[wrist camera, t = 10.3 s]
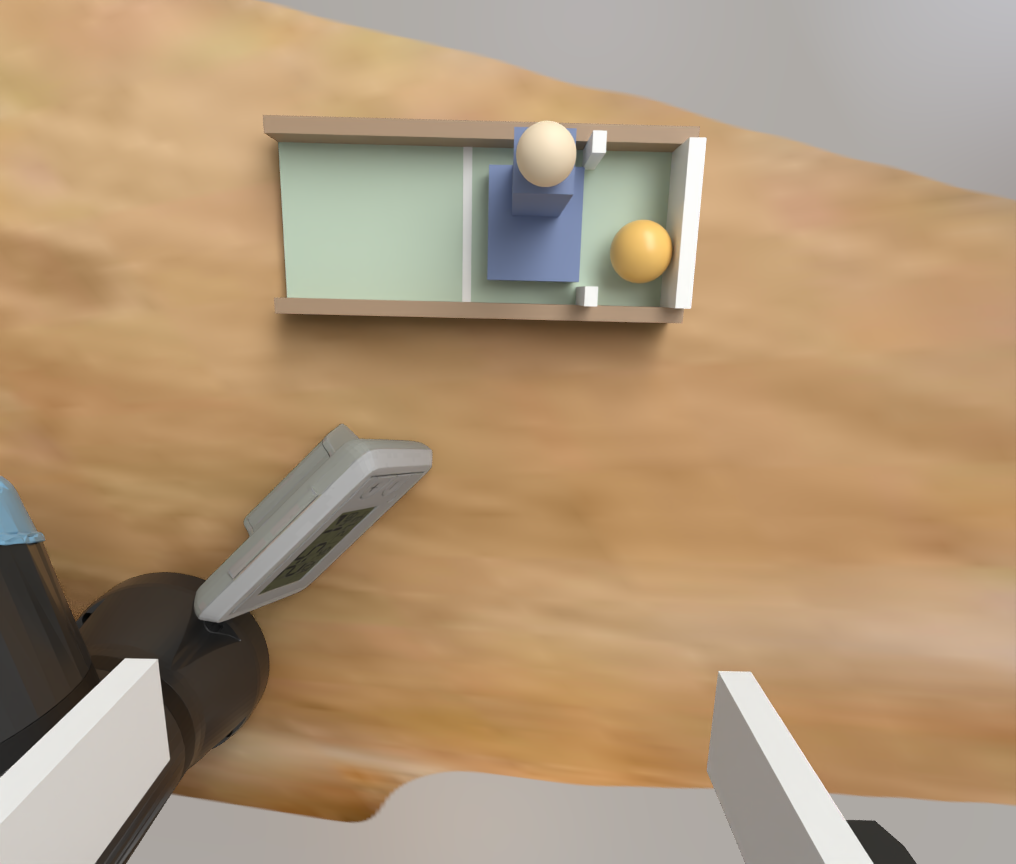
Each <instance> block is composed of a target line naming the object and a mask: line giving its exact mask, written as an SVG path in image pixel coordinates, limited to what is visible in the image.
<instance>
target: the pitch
mask: <svg viewBox="0 0 1016 864" xmlns="http://www.w3.org/2000/svg"><path fill="white" fill-rule="evenodd" d="M535 123H538V122H506V121H468V120H430V119H392V118H354V117H316V116H278V115H263V126H264V133H265V134H267V135H268V136H270V137H271V138H273V139H274V140H276V141H277V142H278V146H279V164H280V181H281V199H282V216H283V234H284V251H285V269H286V286H287V297H286V298H274V304H275V313H284V314H325V315H365V316H406V317H446V318H487V319H528V320H568V321H609V322H649V323H683V312H684V308H687V309H691V303H692V292H693V281H694V270H695V259H696V248H697V237H698V226H699V215H700V204H701V193H702V182H703V171H704V160H705V149H706V138H700V137H699V131H700V127H696V126H658V125H620V124H582V123H559V124H561V125H562V126H564V127H565V128H577V132H576V161H575V167H585V171H584V191H583V211H582V231H581V252H580V272H579V282H540V281H500V280H487V265H488V202H489V165H513V152H514V127H530V126H532V125H533V124H535ZM636 220H651V221H654V222H656V223H658V224H660V225H661V226H662V227H663V228H664V229H665V230H666V231H667V232H668V234H669V236H670V238H671V241H672V247H673V253H672V258H671V261H670V264H669V266H668V267H667V269H666V270H665V271H664V273H663V274H662V275H660V276H659V277H658V278H656V279H655V280H653V281H650V282H647V283H632V282H629V281H626V280H625V279H623V278H622V277H620V276H619V275H618V274H617V273H616V271H615V270H614V268H613V266H612V263H611V260H610V247H611V243H612V241H613V238H614V237H615V235H616V234H617V232H618V231H619V230H620V229H621V228H622V227H623V226H625V225H626V224H628V223H630V222H632V221H636Z"/></svg>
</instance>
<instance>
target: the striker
mask: <svg viewBox="0 0 1016 864" xmlns="http://www.w3.org/2000/svg"><path fill="white" fill-rule="evenodd" d="M576 132H577V128H565V127H564V126H562V125H561V124H559V123H556V122H553V121H541V122H538V123H535V124H533V125H532V126H530V127H514V152H513V165H489V202H488V265H487V280H500V281H540V282H579V272H580V252H581V231H582V211H583V191H584V171H585V167H575V161H576Z"/></svg>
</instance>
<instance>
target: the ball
mask: <svg viewBox="0 0 1016 864" xmlns="http://www.w3.org/2000/svg"><path fill="white" fill-rule="evenodd" d="M672 253H673V247H672V241H671V238H670V236H669V234H668V232H667V231H666V230H665V229H664V228H663V227H662V226H661V225H660V224H658V223H656V222H654V221H651V220H636V221H632V222H630V223H628V224H626V225H625V226H623V227H622V228H621V229H620V230H619V231H618V232H617V234H616V235H615V237H614V238H613V241H612V243H611V247H610V260H611V263H612V266H613V268H614V270H615V271H616V273H617V274H618V275H619V276H620V277H622V278H623V279H625V280H626V281H629V282H632V283H647V282H650V281H653V280H655V279H656V278H658V277H659V276H660V275H662V274H663V273H664V271H665V270H666V269H667V267H668V266H669V264H670V261H671V258H672Z"/></svg>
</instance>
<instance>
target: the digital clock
mask: <svg viewBox="0 0 1016 864" xmlns="http://www.w3.org/2000/svg"><path fill="white" fill-rule="evenodd" d="M431 467H432V450H431V449H430V448H429V447H428V446H426V445H424V444H423V443H419V442H415V441H404V440H381V439H359V438H358V437H357V436H356V435H355V434H354V433H353V432H352V431H351V430H350V429H349V428H348V427H347V426H345V425H344V424H340V425H339V426H338V427H336V428H335V429H334V430H333V431H331V432H330V433H329V434H328V435H327V436H326V437H325V438H324V439H323V440H322V441H321V442H320V443H319V444H318V445H317V446H316V447H315V448H314V449H313V450H312V451H311V452H310V453H309V454H308V455H307V456H306V457H305V458H304V459H303V460H302V461H301V462H300V463H299V464H298V465H297V466H296V467H295V468H294V469H293V470H292V471H291V472H290V473H289V474H288V475H287V476H286V477H285V478H284V479H283V480H282V481H281V482H280V483H279V484H278V485H277V486H276V487H275V488H274V489H273V490H272V491H271V492H270V493H269V494H268V495H267V496H266V497H265V498H264V499H263V500H262V501H261V502H260V503H259V504H258V505H257V506H256V507H255V508H254V509H253V510H252V511H251V512H250V513H249V514H248V515H247V516H246V518H245V519H244V526H245V528H246V529H247V531H248V533H249V538H248V539H247V540H246V541H245V542H244V543H243V544H242V545H241V546H240V547H239V548H238V549H237V550H236V551H235V552H234V553H233V554H232V555H231V556H230V557H229V558H228V559H227V560H226V561H225V562H224V563H223V564H222V565H221V566H220V567H219V568H218V569H217V570H216V571H215V572H214V573H213V574H212V575H211V576H210V577H209V578H208V579H207V580H206V581H205V582H204V583H203V584H202V585H201V586H200V588H199V589H198V590H197V592H196V596H195V600H194V610H195V614H196V616H197V617H198V619H200V620H204V621H210V622H217V623H219V622H223V621H226V620H228V619H231V618H234V617H236V616H239V615H241V614H244V613H247V612H249V611H252V610H254V609H257V608H259V607H262V606H264V605H267V604H269V603H272V602H275V601H277V600H280V599H282V598H285V597H287V596H290V595H292V594H295V593H297V592H299V591H301V590H303V589H304V588H306V587H307V586H308V585H309V584H311V583H312V582H313V581H314V580H315V579H316V578H317V577H318V576H319V575H320V574H321V573H322V572H323V571H324V570H325V569H327V568H328V567H329V566H330V565H331V564H332V563H333V562H334V561H335V560H336V559H337V558H338V557H339V556H340V555H341V554H342V553H343V552H344V551H345V550H346V549H348V548H349V547H350V546H351V545H352V544H353V543H354V542H355V541H356V540H357V539H358V538H359V537H360V536H361V535H362V534H363V533H364V532H365V531H366V530H367V529H368V528H370V527H371V526H372V525H373V524H374V523H375V522H376V521H377V520H378V519H379V518H380V517H381V516H382V515H383V514H384V513H385V512H386V511H387V510H388V509H389V508H390V507H392V506H393V505H394V504H395V503H396V502H397V501H398V500H399V499H400V498H401V497H402V496H403V495H404V494H405V493H406V492H407V491H408V490H409V489H410V488H411V487H412V486H414V485H415V484H416V483H417V482H418V481H419V480H420V479H421V478H422V477H423V476H424V475H425V474H426V473H427V472H428V471H429V470H430V469H431Z"/></svg>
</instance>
